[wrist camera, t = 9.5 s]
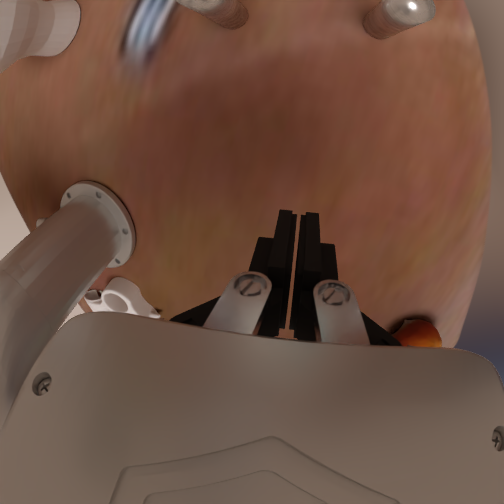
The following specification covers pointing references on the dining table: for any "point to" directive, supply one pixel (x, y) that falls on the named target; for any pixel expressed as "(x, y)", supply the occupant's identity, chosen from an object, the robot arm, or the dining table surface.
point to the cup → (35, 28)
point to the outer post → (397, 17)
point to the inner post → (219, 11)
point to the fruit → (418, 334)
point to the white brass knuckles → (120, 299)
